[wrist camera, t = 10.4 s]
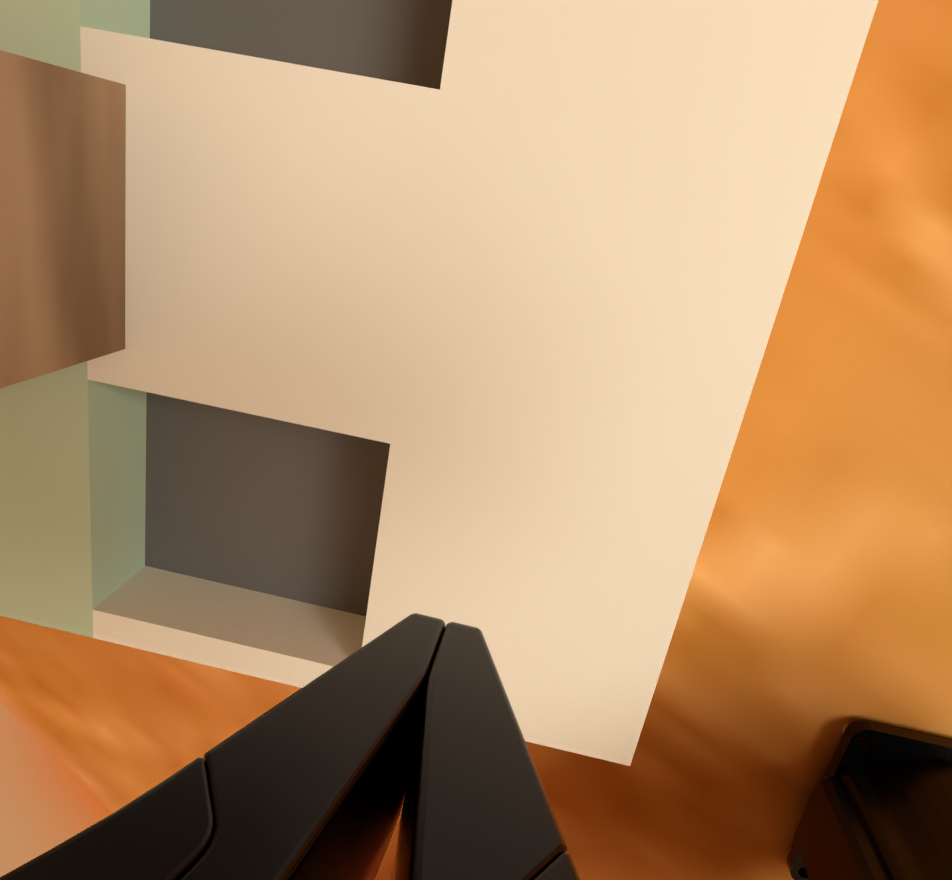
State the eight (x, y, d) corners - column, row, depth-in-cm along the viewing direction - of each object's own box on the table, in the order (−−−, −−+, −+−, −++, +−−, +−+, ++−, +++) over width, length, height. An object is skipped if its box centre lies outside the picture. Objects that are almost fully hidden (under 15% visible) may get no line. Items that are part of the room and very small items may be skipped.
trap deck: (911, -253, 14) (998, -371, 11) (622, 694, 22) (629, 766, 19) (-90, -389, 15) (-239, -524, 12) (-14, 547, 23) (-94, 593, 21)
